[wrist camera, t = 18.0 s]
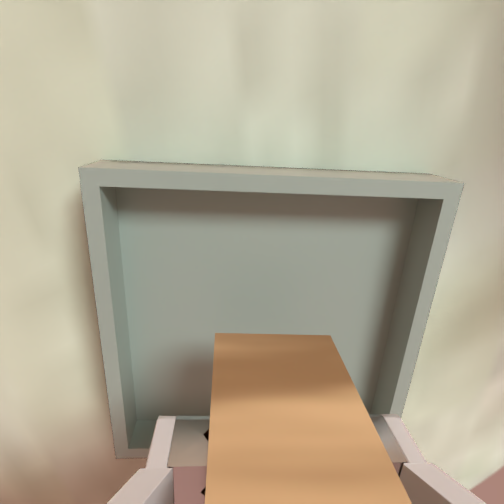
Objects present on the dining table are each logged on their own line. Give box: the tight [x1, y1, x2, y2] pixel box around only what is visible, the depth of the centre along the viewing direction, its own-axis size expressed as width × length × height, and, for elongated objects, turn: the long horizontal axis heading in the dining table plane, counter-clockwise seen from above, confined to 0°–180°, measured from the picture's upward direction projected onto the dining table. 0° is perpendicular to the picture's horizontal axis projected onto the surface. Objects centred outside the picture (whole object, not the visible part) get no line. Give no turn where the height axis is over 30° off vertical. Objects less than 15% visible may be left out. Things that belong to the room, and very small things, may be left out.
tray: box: [78, 160, 464, 459], centre depth 15 cm, size 13×13×2 cm
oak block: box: [205, 333, 412, 504], centre depth 10 cm, size 4×4×6 cm
